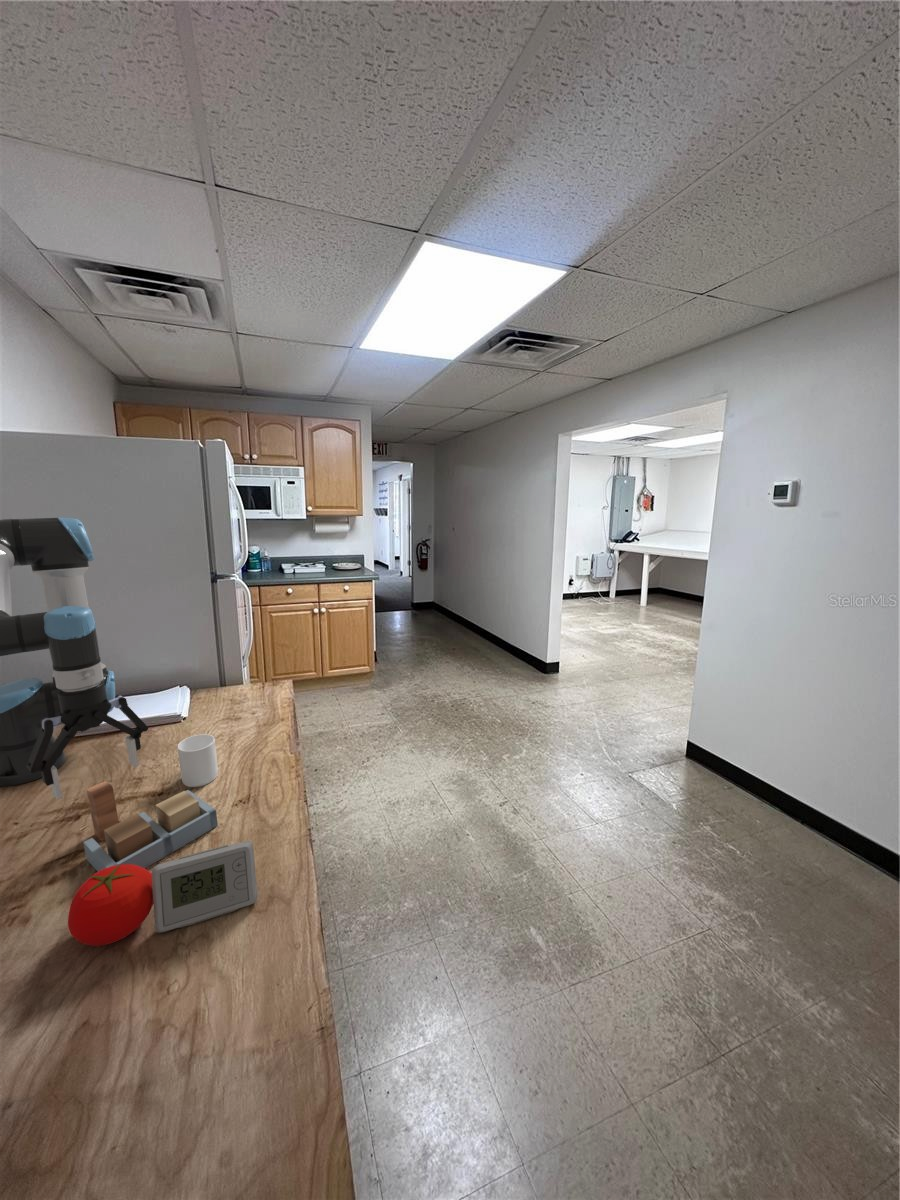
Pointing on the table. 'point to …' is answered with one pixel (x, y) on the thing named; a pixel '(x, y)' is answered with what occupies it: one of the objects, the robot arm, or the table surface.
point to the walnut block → (116, 824)
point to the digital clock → (203, 885)
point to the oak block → (177, 811)
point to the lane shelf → (156, 840)
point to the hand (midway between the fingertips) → (98, 779)
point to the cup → (198, 760)
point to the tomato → (111, 904)
